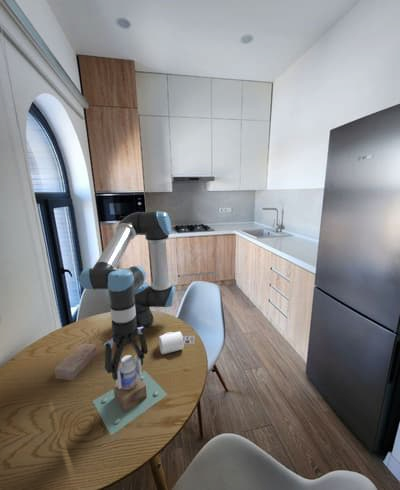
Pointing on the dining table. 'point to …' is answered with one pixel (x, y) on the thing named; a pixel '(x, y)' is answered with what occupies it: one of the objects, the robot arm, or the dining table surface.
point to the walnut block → (130, 395)
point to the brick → (75, 362)
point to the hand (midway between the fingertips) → (129, 379)
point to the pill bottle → (128, 372)
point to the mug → (171, 342)
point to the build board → (118, 419)
